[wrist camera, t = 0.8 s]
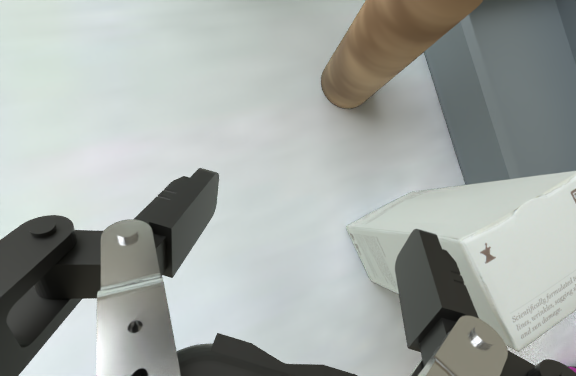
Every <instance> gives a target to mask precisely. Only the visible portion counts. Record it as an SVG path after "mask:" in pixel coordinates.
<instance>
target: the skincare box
mask: <svg viewBox="0 0 576 376" xmlns="http://www.w3.org/2000/svg"><path fill="white" fill-rule="evenodd" d="M346 229H347V231H348V233H349V235H350V237H351V240H352V242H353V244H354V246H355V248H356V250H357V253H358V255H359V257H360V259H361V261H362V264H363V266H364V268H365V270H366V272H367V274H368V277H369V278H370V280H371V281H372V282H374V283H377V284H378V285H381V286H382V287H385V288H387V289H389V290H391V291H393V292H395V293H397V294H399V292H398V286H397V280H396V274H395V262H396V259H397V256H398V254H399V252H400V251H401V249H402V247H403V246H404V244H405V242H406V241H407V239H408V237H409V236H410V234H411V232H412V231H413V230H414V229H419V230H423V231H427V232H430V233H434V234H436V235H437V237H438V239H439V242H440V245H441V247H442V249H444V250H447V252H448V253H449V254H450V255H451V256H452V258H453V259H454V260H455V261H456V263H457V266H458V268H459V271H460V275H461V276H462V278H463V280H464V285H466V288H467V290H468V293H469V295H470V298H471V300H472V302H473V305H474V307H475V310H476V312H477V315H478V317H479V319H481V320H483V321H484V322H486V323H487V324H489V325H490V326H491V327H492V328H493V329H494V330H495V331H496V332H497V333H498V334H499V335H500V336H501V338H502V339H503V341H504V343H505V345H506V346H508V347H510V348H512V349H514V350H516V351H520V350H522V349H523V348H525V347H526V346H527V345H529V344H530V343H532V342H533V341H534V340H536V339H537V338H538V337H540V336H541V335H542V334H544V333H545V332H546V331H548V330H549V329H551V328H552V327H553V326H555V325H556V324H557V323H559V322H560V321H562V320H563V319H564V318H566V317H567V316H568V315H570V314H571V313H573V312H574V311H575V310H576V171H570V172H562V173H555V174H546V175H538V176H531V177H523V178H516V179H508V180H500V181H493V182H485V183H477V184H469V185H461V186H453V187H446V188H438V189H430V190H422V191H413V192H410V193H408V194H406V195H404V196H402V197H400V198H398V199H396V200H394V201H392V202H390V203H388V204H386V205H385V206H383V207H381V208H379V209H377V210H375V211H373V212H371V213H369V214H368V215H366V216H364V217H362V218H361V219H359V220H357V221H355V222H353V223H351V224H349V225H347V226H346Z"/></svg>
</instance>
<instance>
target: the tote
mask: <svg viewBox="0 0 576 376" xmlns="http://www.w3.org/2000/svg"><path fill="white" fill-rule="evenodd" d="M424 53H425V56H426V60H427V63H428V66H429V69H430V72H431V75H432V79H433V82H434V85H435V88H436V91H437V95H438V98H439V101H440V104H441V107H442V110H443V114H444V117H445V120H446V123H447V126H448V130H449V133H450V136H451V139H452V142H453V145H454V149H455V152H456V155H457V158H458V161H459V165H460V168H461V171H462V174H463V177H464V180H465V184H466V185H469V184H477V183H485V182H493V181H500V180H508V179H516V178H523V177H531V176H538V175H546V174H555V173H562V172H570V171H576V0H483V1H482V3H481V4H480V5H479V6H478V7H477V8H476V9H475V10H473V11H472V12H471V13H470V14H469V15H467V16H466V17H465V18H464V19H463V20H461V21H460V22H459V23H458V24H457V25H455V26H454V27H453V28H452V29H451V30H449V31H448V32H447V33H446V34H445V35H443V36H442V37H441V38H440V39H439V40H438V41H436V42H435V43H434V44H433V45H432V46H430V47H429V48H428V49H427V50H426V51H424Z"/></svg>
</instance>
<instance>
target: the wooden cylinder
mask: <svg viewBox="0 0 576 376" xmlns="http://www.w3.org/2000/svg"><path fill="white" fill-rule="evenodd" d="M482 1H483V0H366V1H365V3H364V4H363V6H362V8H361V9H360V11H359V13H358V14H357V16H356V18H355V19H354V21H353V22H352V24H351V26H350V27H349V29H348V31H347V32H346V34H345V36H344V37H343V39H342V41H341V42H340V44H339V46H338V47H337V49H336V50H335V52H334V54H333V55H332V57H331V59H330V60H329V62H328V64H327V65H326V67H325V69H324V70H323V73H322V77H321V86H322V90H323V92H324V94H325V96H326V97H327V99H328V100H329V101H330V102H331V103H333V104H334V105H336V106H338V107H341V108H347V109H349V108H355V107H357V106H359V105H361V104H362V103H364V102H365V101H366V100H367V99H368V98H369V97H371V96H372V95H373V94H374V93H375V92H377V91H378V90H379V89H380V88H381V87H383V86H384V85H385V84H386V83H387V82H389V81H390V80H391V79H392V78H393V77H395V76H396V75H397V74H398V73H399V72H401V71H402V70H403V69H404V68H405V67H406V66H408V65H409V64H410V63H411V62H412V61H414V60H415V59H416V58H417V57H418V56H420V55H421V54H422V53H423V52H424V51H426V50H427V49H428V48H429V47H430V46H432V45H433V44H434V43H435V42H436V41H438V40H439V39H440V38H441V37H442V36H443V35H445V34H446V33H447V32H448V31H449V30H451V29H452V28H453V27H454V26H455V25H457V24H458V23H459V22H460V21H461V20H463V19H464V18H465V17H466V16H467V15H469V14H470V13H471V12H472V11H473V10H475V9H476V8H477V7H478V6H479V5H480V4H481V3H482Z"/></svg>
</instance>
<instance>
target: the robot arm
mask: <svg viewBox="0 0 576 376" xmlns="http://www.w3.org/2000/svg"><path fill="white" fill-rule="evenodd" d="M218 183H219V174H218V173H217V172H213V171H209V170H206V169H202V168H199V169H198V170H197V171H196V172H195V173H194V174H193V175H192V176H191V177H190V178H188V177H185V176H183V177H181V178H179V179H176V180H174V181H172V182H171V183H170V184H169V185H168V186H167V187H166V188H165V189H164V191H162V192H161V193H160V194H159V195H158V197H156V198H155V199H154V200H153V201H152V202H151V203H150V204H149V205H148V206H147V207H146V208H145V209H144V210H143V211H142V212H141V213H140V214H139V215H138V216H137V217H136V218H135V219H134V220H123V221H119V222H116V223H114V224H112V225H110V226H109V227H107V228H106V229H105V230H104V231H86V230H74V226H73V223H72V221H71V220H69V219H68V218H66V217H63V216H56V215H51V216H42V217H38V218H35V219H32V220H29V221H27V222H25V223H24V224H22V225H20V226H19V227H18V228H16V229H15V230H14V231H12V232H11V233H9V234H8V235H7V236H5V237H4V238H3V239H1V240H0V376H18V375H19V374H20V373H21V372H22V371H23V369H24V368H25V367H26V366H27V365H28V363H29V362H30V361H31V360H32V359H33V357H34V356H35V355H36V354H37V352H38V351H39V350H40V349H41V348H42V346H43V345H44V344H45V343H46V342H47V340H48V339H49V338H50V337H51V336H52V334H53V333H54V332H55V331H56V330H57V328H58V327H59V326H60V325H61V324H62V322H63V321H64V320H65V319H66V318H67V316H68V315H69V314H70V313H71V312H72V310H73V309H74V308H75V307H76V305H77V304H78V303H79V302H80V301H81V299H83V298H97V355H96V376H357V375H355V374H352V373H348V372H345V371H342V370H338V369H335V368H332V367H328V366H325V365H309V364H285V363H283V362H281V361H279V360H277V359H276V358H274V357H273V356H271V355H269V354H268V353H266V352H265V351H263V350H261V349H260V348H258V347H256V346H255V345H253V344H252V343H249V342H245V341H242V340H239V339H235V338H232V337H229V336H225V335H222V334H219V333H217V335H216V338H215V340H214V343H213V344H200V345H194V346H190V347H187V348H184V349H181V350H179V351H177V352H176V347H175V341H174V336H173V331H172V325H171V320H170V314H169V309H168V304H167V298H166V293H165V288H164V282H163V278H162V275H165V276H168V277H171V278H173V276H174V275H175V273H176V272H177V270H178V269H179V267H180V266H181V264H182V263H183V261H184V260H185V258H186V256H187V255H188V253H189V252H190V250H191V249H192V247H193V246H194V244H195V243H196V241H197V240H198V238H199V237H200V235H201V234H202V232H203V230H204V229H205V227H206V226H207V224H208V223H209V221H210V220H211V218H212V216H213V214H214V212H215V209H216V204H217V194H218ZM395 274H396V280H397V286H398V292H399V298H400V304H401V310H402V316H403V322H404V328H405V334H406V340H407V346H408V348H409V349H412V350H415V351H419V352H421V355H422V360H421V361H420V362H419V363H418V364H417V366H416V367H415V368H414V370H413V371H412V373H411V374H410V376H576V373H575V372H574V371H573V370H571V369H570V368H569V367H567V366H565V365H564V364H562V363H560V362H557V361H554V360H544V361H542V362H540V363H539V364H538V365H536V366H535V365H533V364H531V363H529V362H527V361H526V360H524V359H522V358H520V357H519V356H517V355H515V354H513V353H511V352H510V351H508V350H507V347H506V345H505V343H504V341H503V339H502V338H501V336H500V335H499V334H498V333H497V332H496V331H495V330H494V329H493V328H492V327H491V326H490V325H489V324H487V323H486V322H484V321H483V320H481V319H479V317H478V315H477V312H476V310H475V307H474V305H473V302H472V300H471V298H470V295H469V293H468V290H467V288H466V285H464V280H463V278H462V276H461V275H460V271H459V268H458V266H457V263H456V261H455V260H454V259H453V258H452V256H451V255H450V254H449V253H448V252H447V250H444V249H442V247H441V245H440V242H439V239H438V237H437V235H436V234H434V233H430V232H427V231H423V230H419V229H414V230H413V231H412V232H411V234H410V236H409V237H408V239H407V241H406V242H405V244H404V246H403V247H402V249H401V251H400V252H399V254H398V256H397V259H396V262H395Z"/></svg>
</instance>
